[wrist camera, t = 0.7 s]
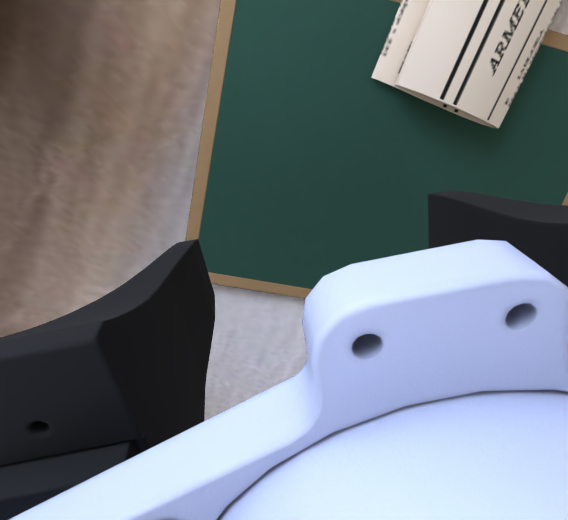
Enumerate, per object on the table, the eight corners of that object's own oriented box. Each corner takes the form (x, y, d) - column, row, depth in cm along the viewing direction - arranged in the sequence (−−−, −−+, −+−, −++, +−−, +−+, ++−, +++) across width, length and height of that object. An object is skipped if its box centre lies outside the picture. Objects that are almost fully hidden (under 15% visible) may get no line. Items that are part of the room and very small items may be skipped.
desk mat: (509, 329, 28) (513, 332, 28) (180, 275, 25) (179, 278, 24) (635, 58, 23) (642, 57, 22) (230, -63, 19) (230, -66, 19)
